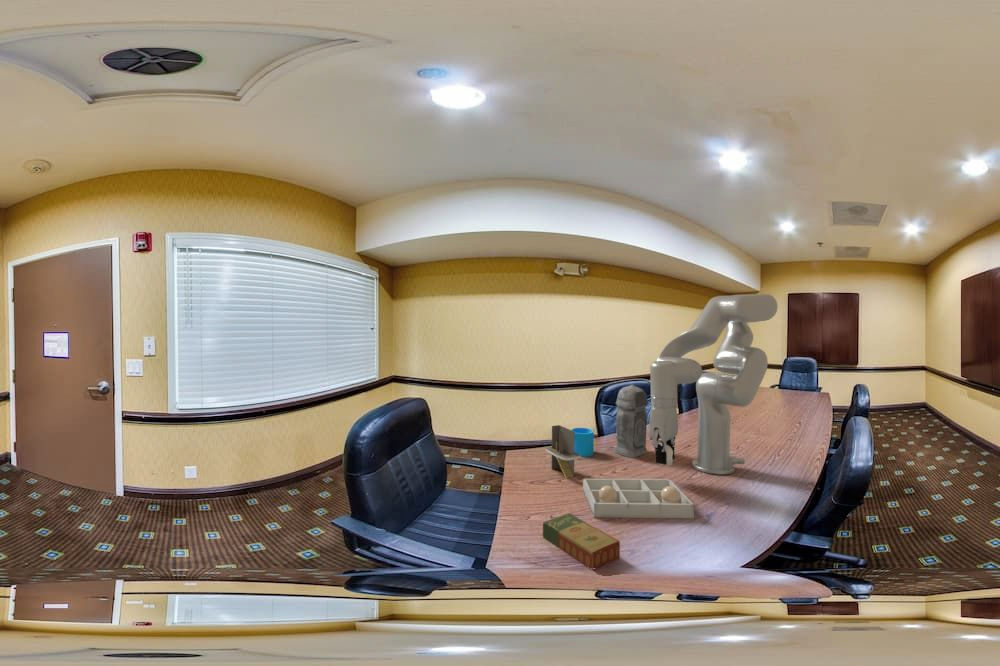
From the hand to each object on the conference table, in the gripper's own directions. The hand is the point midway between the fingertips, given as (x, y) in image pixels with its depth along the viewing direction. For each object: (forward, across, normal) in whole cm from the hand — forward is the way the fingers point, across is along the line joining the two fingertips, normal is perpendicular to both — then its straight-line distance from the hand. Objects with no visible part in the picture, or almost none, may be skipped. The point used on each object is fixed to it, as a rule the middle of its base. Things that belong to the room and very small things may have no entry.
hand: (665, 460), depth 138 cm
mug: (+6, -2, -34) cm, 34 cm away
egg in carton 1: (+4, +30, -1) cm, 30 cm away
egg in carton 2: (+5, +19, +10) cm, 22 cm away
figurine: (+7, -16, -22) cm, 28 cm away
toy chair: (+5, +18, -26) cm, 32 cm away
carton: (+4, +51, +4) cm, 51 cm away
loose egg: (+1, 0, 0) cm, 1 cm away
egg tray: (+5, +22, +2) cm, 22 cm away
